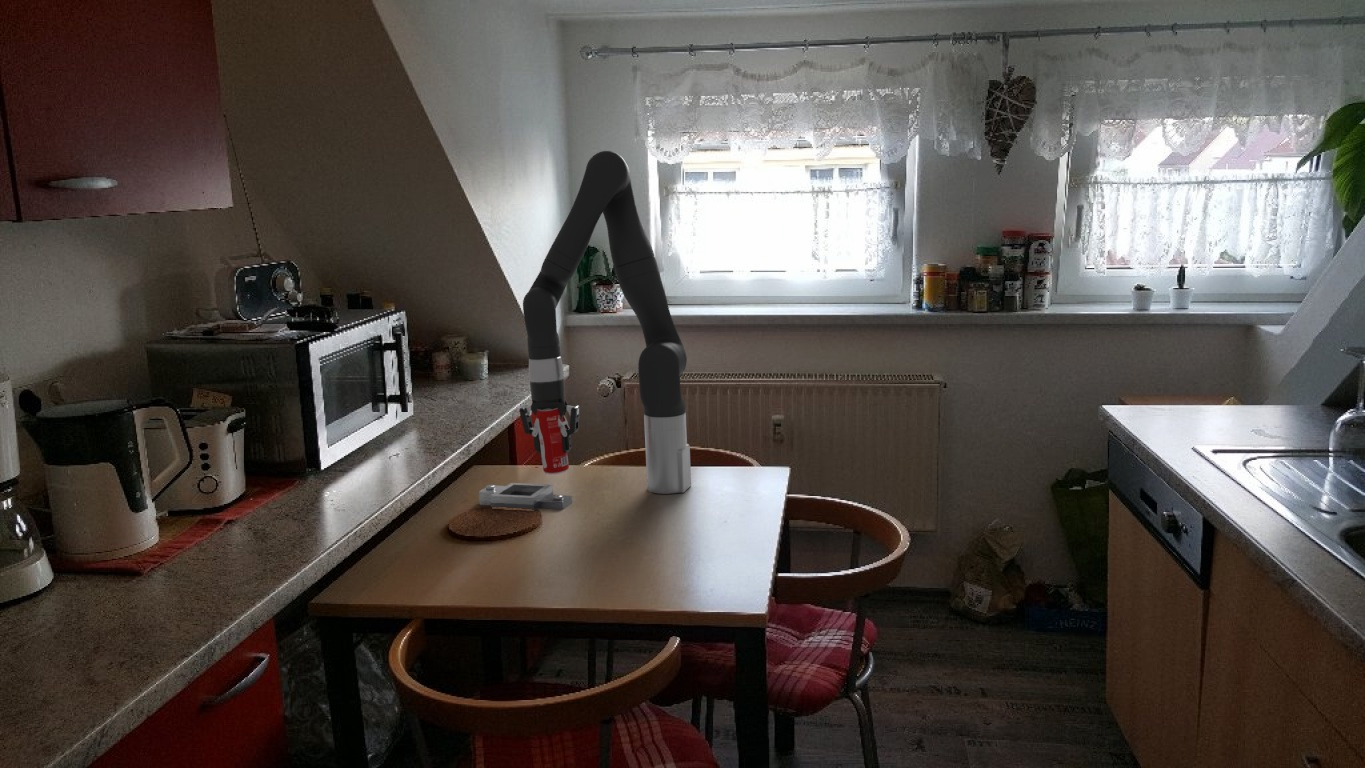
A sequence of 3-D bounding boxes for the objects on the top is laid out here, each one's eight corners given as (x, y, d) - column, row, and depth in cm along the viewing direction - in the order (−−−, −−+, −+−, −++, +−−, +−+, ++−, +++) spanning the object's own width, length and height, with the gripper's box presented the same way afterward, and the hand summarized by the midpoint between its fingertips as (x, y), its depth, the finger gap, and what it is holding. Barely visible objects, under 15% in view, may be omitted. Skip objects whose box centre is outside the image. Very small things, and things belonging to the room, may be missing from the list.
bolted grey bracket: (576, 499, 213) (575, 483, 212) (558, 513, 204) (557, 496, 203) (495, 495, 219) (494, 479, 218) (474, 508, 209) (473, 492, 208)
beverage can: (571, 467, 221) (565, 402, 219) (565, 475, 215) (559, 408, 212) (545, 468, 222) (539, 404, 219) (539, 476, 216) (533, 409, 213)
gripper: (583, 374, 216) (589, 448, 219) (524, 375, 220) (530, 448, 223) (570, 380, 209) (577, 456, 212) (509, 381, 213) (516, 456, 216)
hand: (553, 451), depth 218 cm, fingers closed on beverage can, 5 cm apart
